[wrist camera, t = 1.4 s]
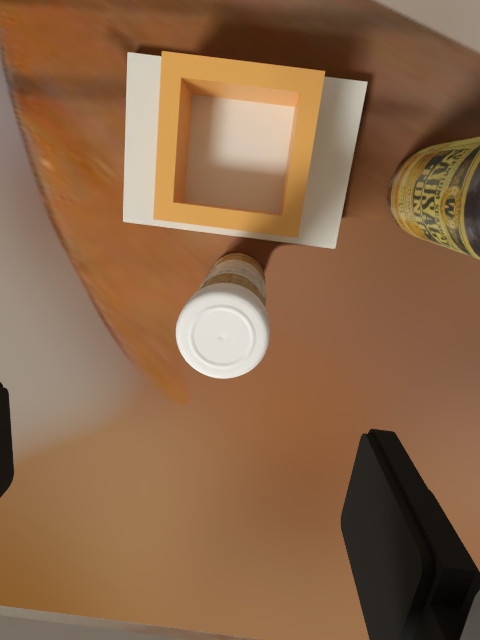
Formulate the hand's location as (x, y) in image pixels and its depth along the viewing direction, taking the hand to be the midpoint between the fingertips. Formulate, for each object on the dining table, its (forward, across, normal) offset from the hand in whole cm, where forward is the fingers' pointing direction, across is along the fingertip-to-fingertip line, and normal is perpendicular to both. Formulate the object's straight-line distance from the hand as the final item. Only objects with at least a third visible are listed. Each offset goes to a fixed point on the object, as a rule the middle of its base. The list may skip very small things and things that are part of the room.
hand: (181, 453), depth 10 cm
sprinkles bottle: (+22, 0, 0) cm, 22 cm away
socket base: (+22, 0, -9) cm, 24 cm away
